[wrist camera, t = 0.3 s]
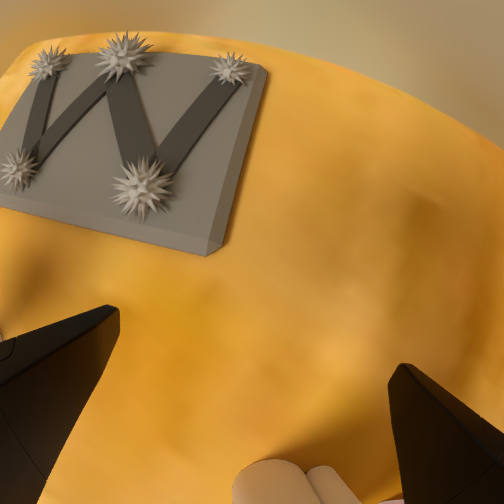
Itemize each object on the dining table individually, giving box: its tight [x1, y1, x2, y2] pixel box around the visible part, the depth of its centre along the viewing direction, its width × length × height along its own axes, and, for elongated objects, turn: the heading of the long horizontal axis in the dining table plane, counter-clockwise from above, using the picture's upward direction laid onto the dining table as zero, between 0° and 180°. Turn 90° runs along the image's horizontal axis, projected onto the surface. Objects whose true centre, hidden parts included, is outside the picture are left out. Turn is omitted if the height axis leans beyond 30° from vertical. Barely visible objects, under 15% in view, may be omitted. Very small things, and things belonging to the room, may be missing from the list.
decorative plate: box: [0, 31, 268, 257], centre depth 23 cm, size 30×22×7 cm
